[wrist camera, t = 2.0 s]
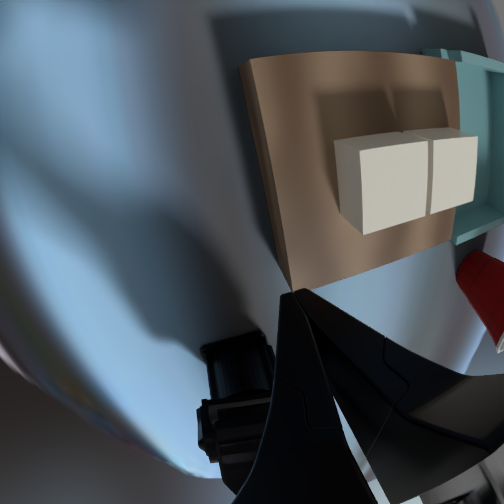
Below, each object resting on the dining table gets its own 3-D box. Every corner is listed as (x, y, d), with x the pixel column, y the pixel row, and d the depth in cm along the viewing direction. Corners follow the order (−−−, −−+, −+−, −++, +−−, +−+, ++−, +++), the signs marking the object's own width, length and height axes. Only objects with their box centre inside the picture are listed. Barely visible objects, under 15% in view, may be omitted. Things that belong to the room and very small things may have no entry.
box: (424, 229, 26) (462, 259, 21) (420, 48, 16) (472, 49, 11) (486, 207, 27) (519, 229, 22) (489, 63, 17) (531, 71, 12)
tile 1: (404, 197, 19) (430, 214, 16) (403, 130, 16) (433, 140, 14) (447, 186, 19) (472, 200, 17) (449, 127, 16) (477, 136, 14)
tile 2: (340, 214, 18) (362, 235, 16) (333, 140, 16) (359, 150, 13) (399, 199, 19) (425, 216, 16) (397, 131, 16) (427, 140, 14)
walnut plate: (278, 265, 25) (293, 295, 21) (238, 66, 16) (249, 59, 13) (425, 220, 26) (451, 239, 22) (422, 59, 17) (455, 60, 14)
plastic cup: (482, 282, 35) (528, 329, 25) (437, 309, 34) (486, 367, 24) (497, 223, 29) (556, 268, 19) (452, 245, 28) (519, 305, 18)
